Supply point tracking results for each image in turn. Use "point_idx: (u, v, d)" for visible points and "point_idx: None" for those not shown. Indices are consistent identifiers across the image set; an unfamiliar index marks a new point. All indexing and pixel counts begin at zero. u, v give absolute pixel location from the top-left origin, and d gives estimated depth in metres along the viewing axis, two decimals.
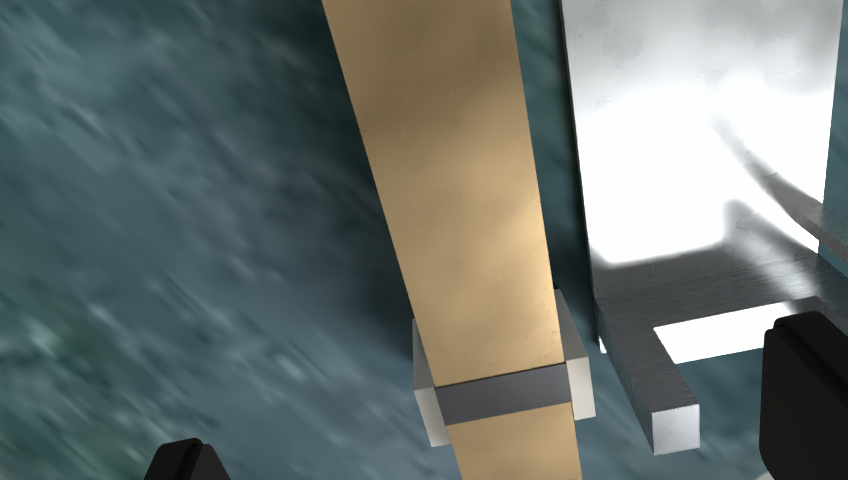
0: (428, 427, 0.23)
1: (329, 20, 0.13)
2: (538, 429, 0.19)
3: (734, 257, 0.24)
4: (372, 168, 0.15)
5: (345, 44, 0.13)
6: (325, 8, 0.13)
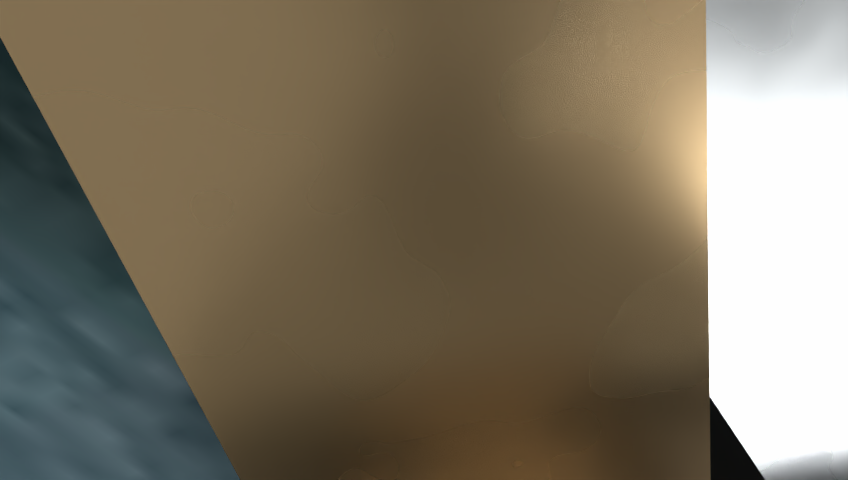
0: None
1: (155, 313, 0.04)
2: None
3: None
4: None
5: (212, 367, 0.05)
6: (138, 283, 0.04)
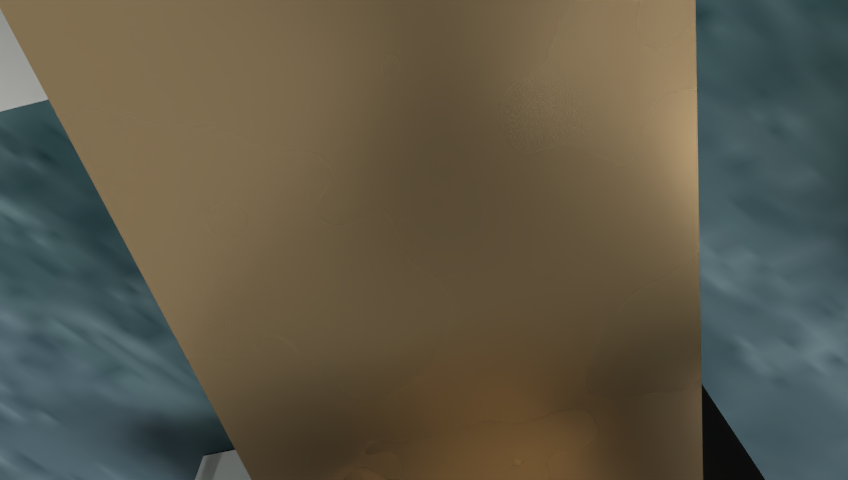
0: None
1: (170, 319, 0.05)
2: None
3: None
4: None
5: (224, 370, 0.05)
6: (155, 290, 0.04)
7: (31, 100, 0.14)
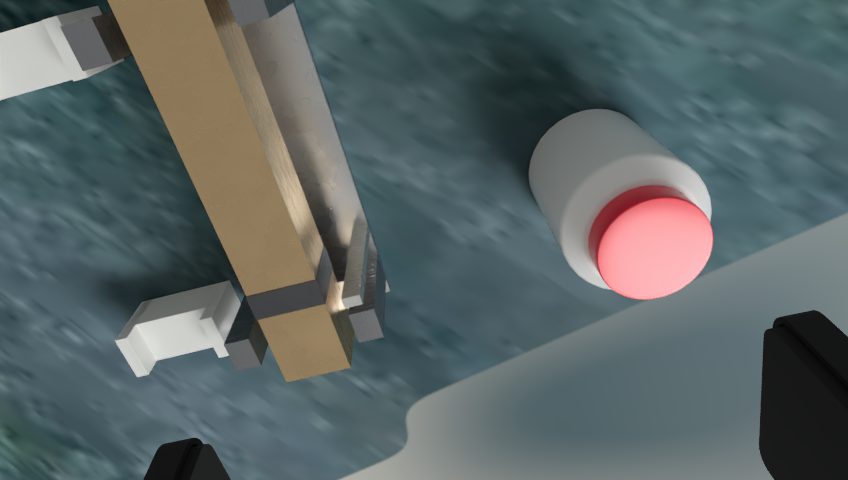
0: (130, 364, 0.38)
1: (157, 104, 0.28)
2: (311, 322, 0.34)
3: None
4: (189, 174, 0.30)
5: (166, 115, 0.28)
6: (154, 99, 0.28)
7: (41, 87, 0.31)
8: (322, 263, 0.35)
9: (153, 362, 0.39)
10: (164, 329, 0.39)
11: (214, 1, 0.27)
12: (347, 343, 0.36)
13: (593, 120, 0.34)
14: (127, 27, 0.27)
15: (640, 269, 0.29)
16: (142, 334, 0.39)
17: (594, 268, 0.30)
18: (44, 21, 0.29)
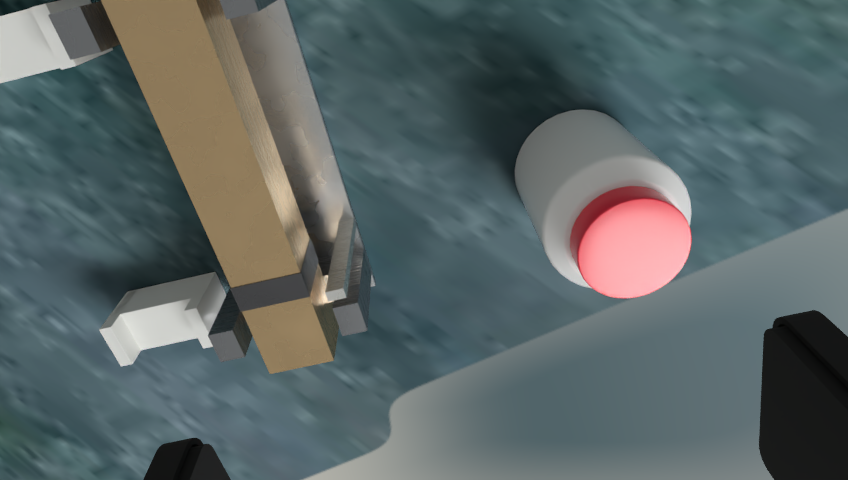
0: (114, 353, 0.38)
1: (144, 94, 0.28)
2: (295, 314, 0.34)
3: None
4: (175, 164, 0.30)
5: (153, 105, 0.28)
6: (142, 89, 0.28)
7: (28, 74, 0.31)
8: (307, 256, 0.35)
9: (137, 352, 0.39)
10: (149, 319, 0.39)
11: None
12: (331, 336, 0.37)
13: (578, 120, 0.35)
14: (116, 17, 0.27)
15: (620, 268, 0.29)
16: (127, 324, 0.39)
17: (575, 267, 0.31)
18: (32, 9, 0.29)
